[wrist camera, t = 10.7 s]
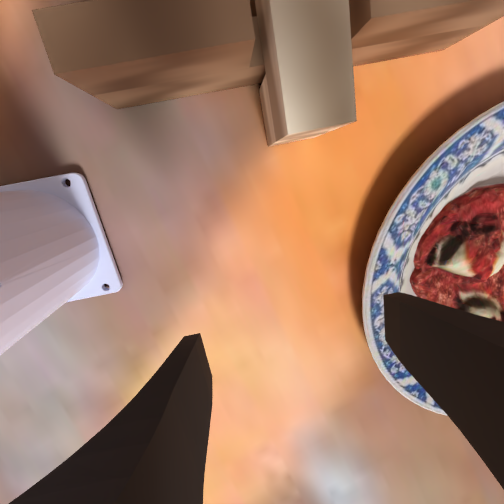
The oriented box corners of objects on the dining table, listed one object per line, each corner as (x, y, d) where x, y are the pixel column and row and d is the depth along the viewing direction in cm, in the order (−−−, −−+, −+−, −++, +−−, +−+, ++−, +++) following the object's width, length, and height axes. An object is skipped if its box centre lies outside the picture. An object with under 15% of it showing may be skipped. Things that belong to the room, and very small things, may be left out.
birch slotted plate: (268, 146, 17) (288, 134, 11) (236, -54, 14) (241, -206, 8) (313, 137, 17) (356, 121, 12) (291, -64, 14) (334, -221, 9)
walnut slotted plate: (117, 109, 16) (54, 74, 10) (105, 70, 15) (32, 10, 10) (443, 49, 16) (558, -15, 11) (444, 10, 16) (567, -81, 10)
